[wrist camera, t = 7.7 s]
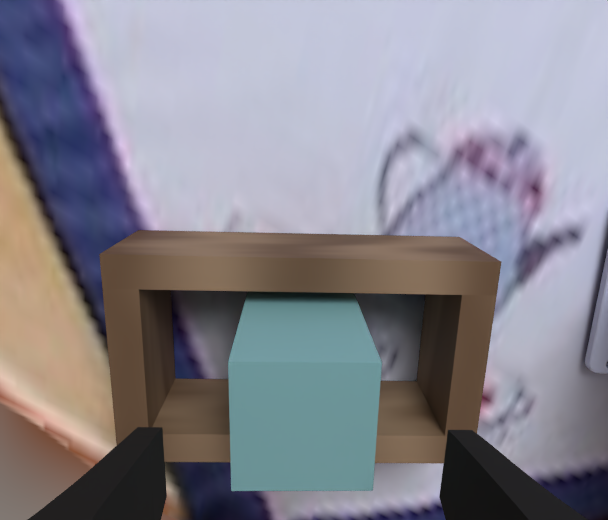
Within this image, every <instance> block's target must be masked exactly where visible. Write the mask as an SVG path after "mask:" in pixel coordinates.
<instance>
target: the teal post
mask: <svg viewBox="0 0 608 520" xmlns="http://www.w3.org/2000/svg"><path fill="white" fill-rule="evenodd" d="M381 367H382V362H381V359H380V357H379V354H378V352H377V349H376V347H375V344H374V342H373V339H372V337H371V334H370V332H369V329H368V327H367V324H366V322H365V319H364V317H363V314H362V312H361V309H360V307H359V304H358V302H357V299H356V297H355V294H354V293H320V292H260V291H248V292H247V296H246V300H245V303H244V307H243V310H242V314H241V317H240V321H239V325H238V328H237V332H236V335H235V339H234V343H233V346H232V350H231V353H230V357H229V360H228V378H229V418H230V458H231V491H373V480H374V466H375V452H376V438H377V424H378V410H379V396H380V382H381Z"/></svg>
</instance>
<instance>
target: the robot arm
mask: <svg viewBox="0 0 608 520" xmlns="http://www.w3.org/2000/svg"><path fill="white" fill-rule="evenodd" d="M607 361H608V250H607V255H606V259H605V264H604V269H603V274H602V279H601V284H600V289H599V294H598V299H597V304H596V309H595V314H594V318H593V323H592V328H591V333H590V338H589V343H588V348H587V353H586V358H585V365H586V367H587V368H589V369H590V370H591V371H592V372H594V373H606V374H608V365H606V363H607ZM166 496H167V495H166V479H165V462H164V446H163V429H162V427H137V428H136V429H135V430H134V431H133V432H132V433H131V434H129V435H128V436H127V437H126V438H125V439H124V440H123V441H122V442H120V443H119V444H118V445H117V446H116V447H115V448H114V449H113V450H112V451H110V452H109V453H108V454H107V455H106V456H105V457H104V458H103V459H102V460H100V461H99V462H98V463H97V464H96V465H95V466H94V467H93V468H91V469H90V470H89V471H88V472H87V473H86V474H84V475H83V476H82V477H81V478H80V479H79V480H78V481H76V482H75V483H74V484H73V485H71V486H70V487H69V488H68V489H67V490H65V491H64V492H63V493H61V494H60V495H59V496H58V497H56V498H55V499H54V500H53V501H51V502H50V503H49V504H48V505H46V506H45V507H44V508H43V509H41V510H40V511H39V512H38V513H36V514H35V515H34V516H32V517H31V518H29V519H28V520H161V516H162V512H163V508H164V504H165V500H166ZM440 500H441V504H442V507H443V511H444V515H445V518H446V520H588V519H586V518H585V517H583V516H582V515H580V514H579V513H578V512H576V511H575V510H573V509H572V508H571V507H569V506H568V505H566V504H565V503H564V502H562V501H561V500H560V499H558V498H557V497H555V496H554V495H553V494H552V493H550V492H549V491H548V490H546V489H545V488H544V487H542V486H541V485H540V484H538V483H537V482H536V481H535V480H533V479H532V478H531V477H530V476H528V475H527V474H526V473H525V472H523V471H522V470H521V469H520V468H518V467H517V466H516V465H515V464H513V463H512V462H511V461H510V460H509V459H507V458H506V457H505V456H504V455H503V454H501V453H500V452H499V451H498V450H496V449H495V448H494V447H493V446H492V445H490V444H489V443H488V442H487V441H485V440H484V439H483V438H482V437H480V436H479V435H478V434H477V433H475V432H474V431H473V430H448V434H447V442H446V450H445V458H444V466H443V474H442V482H441V490H440Z"/></svg>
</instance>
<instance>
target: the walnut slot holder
mask: <svg viewBox="0 0 608 520" xmlns="http://www.w3.org/2000/svg"><path fill="white" fill-rule="evenodd" d="M100 265H101V276H102V287H103V298H104V309H105V320H106V331H107V342H108V353H109V364H110V375H111V386H112V397H113V408H114V419H115V430H116V441H117V445H118V444H119V443H120V442H122V441H123V440H124V439H125V438H126V437H127V436H128V435H129V434H131V433H132V432H133V431H134V430H135V429H136V428H137V427H162V429H163V446H164V462H231V458H230V418H229V379H175V362H174V342H173V322H172V302H171V290H200V291H260V292H320V293H379V294H425V304H424V314H423V324H422V334H421V344H420V354H419V364H418V373H417V381H381V382H380V396H379V410H378V424H377V438H376V452H375V463H444V458H445V450H446V442H447V434H448V430H473V431H474V432H475V433H477V428H478V421H479V414H480V407H481V400H482V393H483V386H484V379H485V372H486V365H487V358H488V351H489V344H490V337H491V330H492V323H493V316H494V309H495V302H496V295H497V288H498V281H499V274H500V267H501V261H499V260H497V259H496V258H494V257H492V256H490V255H489V254H487V253H485V252H484V251H482V250H480V249H479V248H477V247H475V246H474V245H472V244H470V243H469V242H467V241H465V240H464V239H462V238H460V237H435V236H387V235H339V234H292V233H244V232H196V231H149V230H138V231H137V232H135V233H133V234H132V235H130V236H128V237H127V238H125V239H124V240H122V241H120V242H119V243H117V244H115V245H114V246H112V247H110V248H109V249H107V250H106V251H104V252H102V253H101V254H100Z"/></svg>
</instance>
